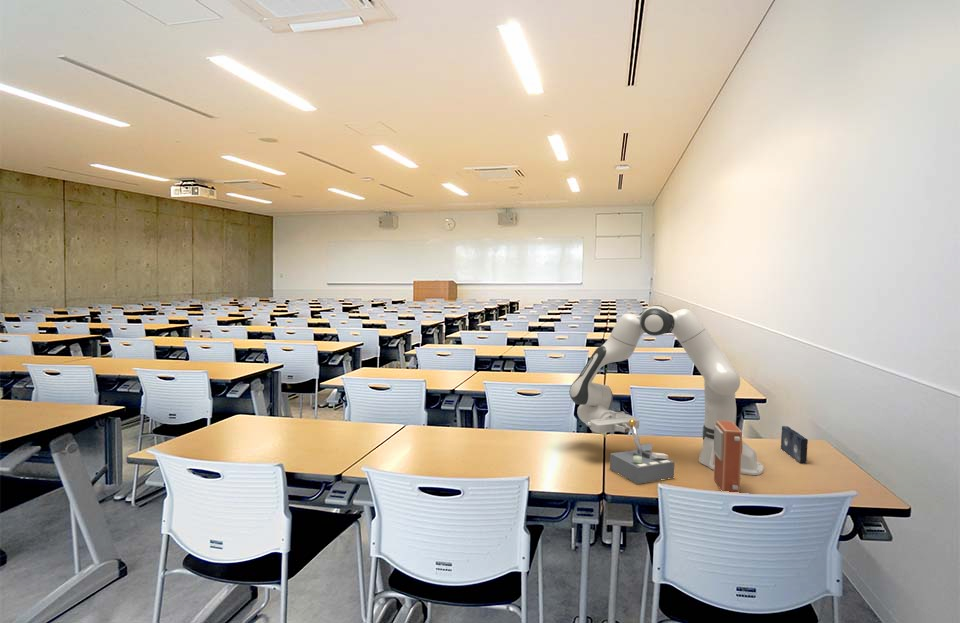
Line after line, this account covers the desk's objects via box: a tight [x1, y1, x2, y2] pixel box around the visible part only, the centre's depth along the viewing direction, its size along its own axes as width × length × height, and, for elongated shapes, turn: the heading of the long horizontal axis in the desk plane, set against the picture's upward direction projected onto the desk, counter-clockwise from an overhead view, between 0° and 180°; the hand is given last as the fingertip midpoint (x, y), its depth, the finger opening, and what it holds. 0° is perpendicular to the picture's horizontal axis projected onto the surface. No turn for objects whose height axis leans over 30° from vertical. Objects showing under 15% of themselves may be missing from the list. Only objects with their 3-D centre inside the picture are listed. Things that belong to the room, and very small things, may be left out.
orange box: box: [713, 421, 743, 492], centre depth 183 cm, size 21×7×15 cm
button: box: [633, 455, 642, 464], centre depth 189 cm, size 3×3×2 cm
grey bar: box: [641, 443, 654, 451], centre depth 201 cm, size 1×6×2 cm, turn 112°
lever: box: [629, 420, 643, 454], centre depth 197 cm, size 3×3×13 cm
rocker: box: [652, 452, 669, 459], centre depth 193 cm, size 3×5×1 cm, turn 112°
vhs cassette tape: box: [780, 425, 809, 465], centre depth 215 cm, size 18×3×10 cm, turn 170°
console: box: [609, 449, 675, 485], centre depth 195 cm, size 16×16×8 cm
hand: (627, 429), depth 202 cm, fingers closed
